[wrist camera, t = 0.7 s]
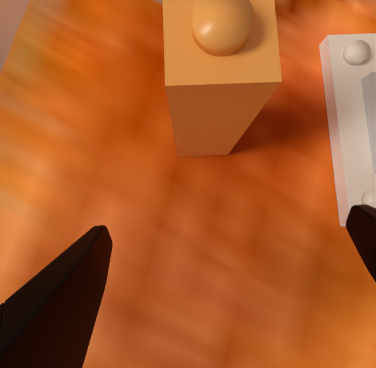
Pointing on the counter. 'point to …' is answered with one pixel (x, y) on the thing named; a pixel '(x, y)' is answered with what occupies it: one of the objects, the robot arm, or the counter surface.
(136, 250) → the counter surface
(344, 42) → the baseplate
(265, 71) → the column brick
